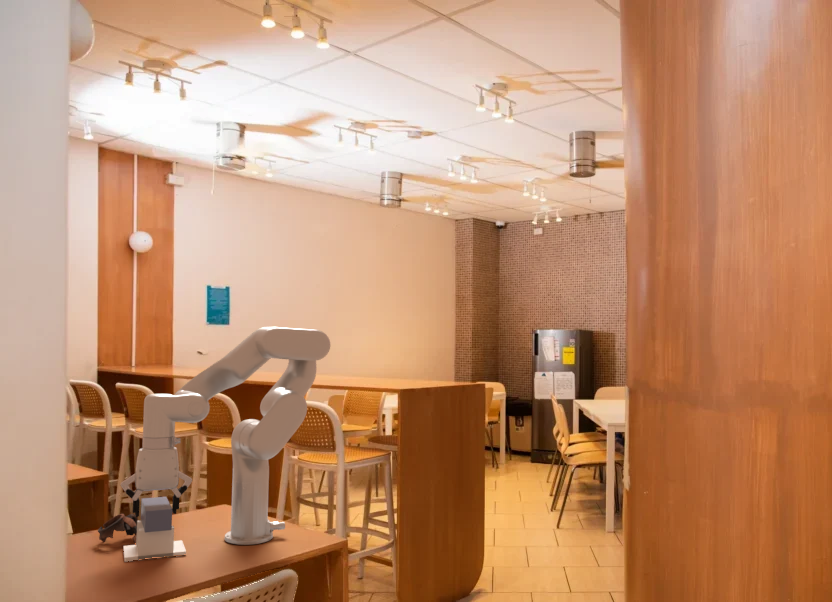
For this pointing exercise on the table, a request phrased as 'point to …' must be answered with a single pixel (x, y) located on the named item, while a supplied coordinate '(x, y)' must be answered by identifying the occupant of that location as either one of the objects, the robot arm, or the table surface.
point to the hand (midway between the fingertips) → (155, 513)
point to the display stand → (153, 545)
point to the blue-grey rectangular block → (156, 514)
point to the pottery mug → (119, 526)
